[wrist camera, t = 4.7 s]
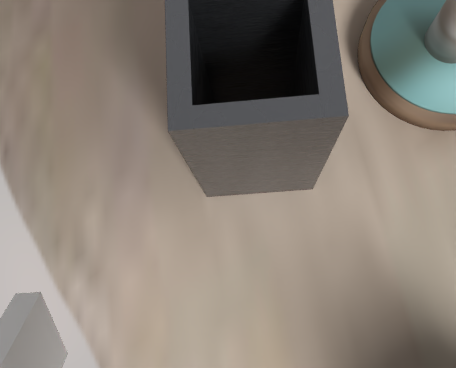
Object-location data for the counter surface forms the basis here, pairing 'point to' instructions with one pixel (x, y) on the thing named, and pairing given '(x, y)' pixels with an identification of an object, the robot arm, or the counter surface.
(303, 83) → the grey square holder
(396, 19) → the post stand
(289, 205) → the counter surface
